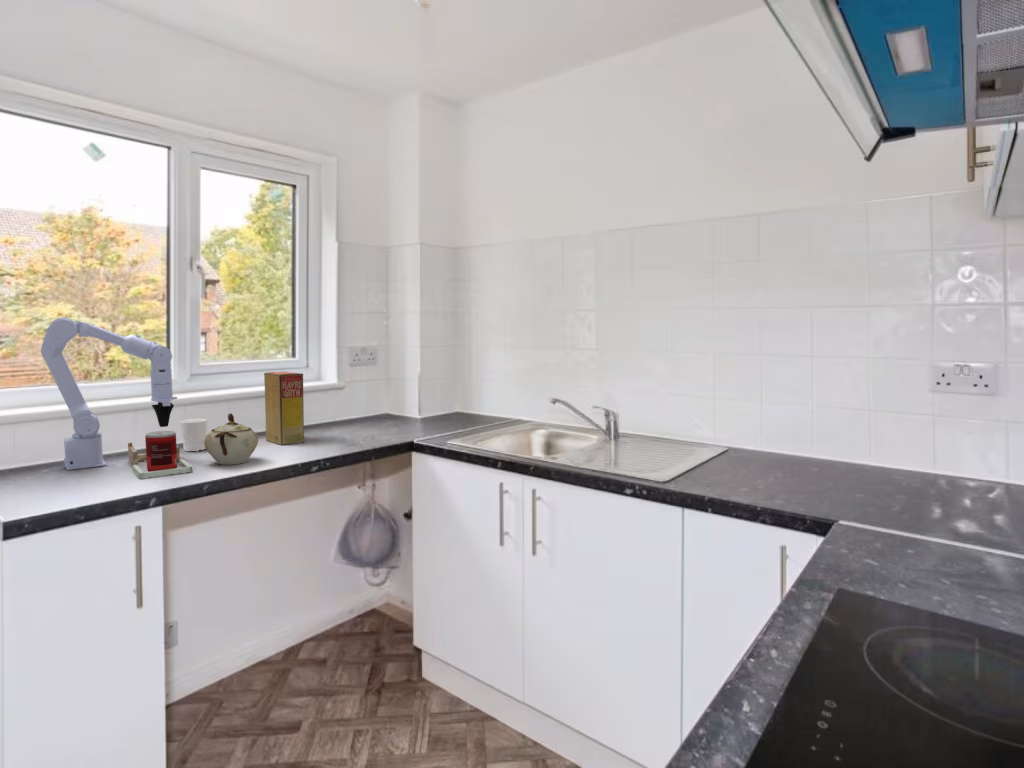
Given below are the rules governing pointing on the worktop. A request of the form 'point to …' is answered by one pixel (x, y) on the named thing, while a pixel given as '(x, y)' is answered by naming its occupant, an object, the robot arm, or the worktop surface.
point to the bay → (164, 472)
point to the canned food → (161, 450)
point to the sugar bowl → (231, 443)
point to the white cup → (194, 434)
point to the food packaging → (284, 407)
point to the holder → (142, 455)
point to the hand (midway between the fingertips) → (163, 426)
